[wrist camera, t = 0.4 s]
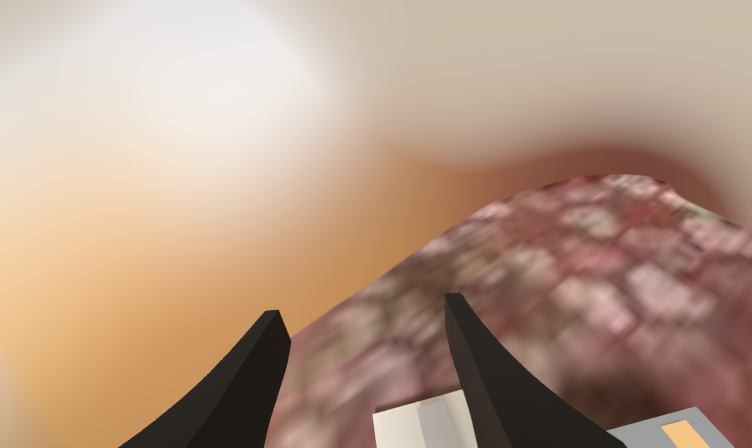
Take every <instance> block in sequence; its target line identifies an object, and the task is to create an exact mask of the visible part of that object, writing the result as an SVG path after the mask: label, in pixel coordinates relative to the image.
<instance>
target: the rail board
mask: <svg viewBox="0 0 752 448" xmlns="http://www.w3.org/2000/svg"><path fill="white" fill-rule="evenodd" d="M373 421H374V429H375V436H376V444H377V448H478V447H477V442H476V438H475V433H474V429H473V425H472V420H471V416H470V413H469V409H468V405H467V402H466V399H465V396H464V393H463V390H458V391H455V392H451V393H448V394H444V395H441V396H437V397H433V398H430V399H426V400H423V401H419V402H415V403H412V404H408V405H405V406H401V407H397V408H394V409H390V410H387V411H383V412H379V413H376V414H373Z"/></svg>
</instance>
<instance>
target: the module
mask: <svg viewBox="0 0 752 448" xmlns="http://www.w3.org/2000/svg"><path fill="white" fill-rule="evenodd" d="M607 432H609V433H610V434H612V435H613V436H615V437H616V438H618V439H619V440H621V441H622V442H624V444H625V445H626V446H627V448H734V447H733V446H732V445H731V443H730V442H729V441H728V440H727V439H726V438H725V437H724V436H723V435H722V434H721V433H720V432H719V431H718V430H717V428H716V427H715V426H714V425H713V424H712V423H711V422H710V421H709V420H708V419H707V418H706V417H705V416H704V415H703V414H702V412H701V411H700V410H699V409H698V408H697V407H692V408H688V409H685V410H681V411H677V412H674V413H670V414H666V415H663V416H659V417H655V418H652V419H648V420H644V421H641V422H637V423H633V424H629V425H626V426H622V427H618V428H615V429H611V430H607Z"/></svg>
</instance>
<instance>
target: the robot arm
mask: <svg viewBox="0 0 752 448" xmlns="http://www.w3.org/2000/svg"><path fill="white" fill-rule="evenodd" d="M445 325H446V333H447V338H448V342H449V347H450V352H451V355H452V358H453V361H454V365H455V368H456V371H457V374H458V377H459V380H460V383H461V387H462V390H463V393H464V396H465V399H466V402H467V405H468V409H469V413H470V416H471V420H472V425H473V429H474V433H475V438H476V442H477V447H478V448H627V446H626V445H625V444H624V442H622V441H621V440H619V439H618V438H616V437H615V436H613V435H612V434H610V433H609V432H607V431H606V430H604V429H603V428H601V427H600V426H598V425H597V424H595V423H594V422H592V421H591V420H589V419H588V418H586V417H585V416H584V415H582V414H581V413H580V412H578V411H577V410H576V409H574V408H573V407H572V406H570V405H569V404H568V403H566V402H565V401H564V400H563V399H561V398H560V397H559V396H558V395H556V394H555V393H554V392H553V391H551V390H550V389H549V388H548V387H546V386H545V385H544V384H543V383H541V382H540V381H539V380H538V379H537V378H536V377H535V376H533V375H532V374H531V373H530V372H529V371H528V370H527V369H526V368H525V367H523V366H522V365H521V364H520V363H519V362H518V361H517V360H516V359H515V358H514V357H513V356H512V355H511V354H510V353H509V352H508V351H507V350H506V349H505V348H504V347H503V346H502V345H501V343H500V342H499V341H498V340H497V339H496V338H495V337H494V336H493V335H492V333H491V332H490V331H489V330H488V329H487V327H486V326H485V325H484V324H483V323H482V322H481V320H480V319H479V318H478V316H477V315H476V314H475V313H474V311H473V310H472V309H471V307H470V306H469V304H468V303H467V301H466V300H465V298H464V297H463V295H462V294H461V293H449V294H445ZM290 346H291V340H290V337H289V334H288V332H287V329H286V327H285V324H284V322H283V319H282V317H281V315H280V312H279V310H270V311H265V312H264V313H263V314H262V315H261V316H260V317H259V319H258V320H257V321H256V322H255V323H254V325H253V326H252V327H251V328H250V329H249V330H248V331H247V332H246V334H245V335H244V336H243V337H242V338H241V339H240V340H239V342H238V343H237V344H236V345H235V346H234V347H233V348H232V349H231V351H230V352H229V353H228V354H227V355H226V356H225V357H224V358H223V359H222V360H221V361H220V362H219V363H218V364H217V365H216V366H215V367H214V369H213V370H212V371H211V372H210V373H209V374H208V375H207V376H206V377H204V378H203V379H202V380H201V381H200V382H199V383H198V384H197V385H196V386H195V387H194V388H193V389H192V390H191V391H189V392H188V393H187V394H186V395H185V396H184V397H183V398H182V399H181V400H179V401H178V402H177V403H176V404H174V405H173V406H172V407H171V408H170V409H168V410H167V411H166V412H165V413H163V414H162V415H161V416H160V417H159V418H157V419H156V420H155V421H154V422H152V423H151V424H150V425H148V426H147V427H146V428H145V429H143V430H142V431H141V432H139V433H138V434H136V435H135V436H134V437H132V438H131V439H130V440H128V441H127V442H125V443H124V444H123V445H121V446H120V447H118V448H264V444H265V439H266V434H267V430H268V426H269V423H270V419H271V416H272V413H273V409H274V406H275V403H276V400H277V397H278V393H279V390H280V387H281V384H282V380H283V377H284V374H285V371H286V367H287V363H288V358H289V352H290Z"/></svg>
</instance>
